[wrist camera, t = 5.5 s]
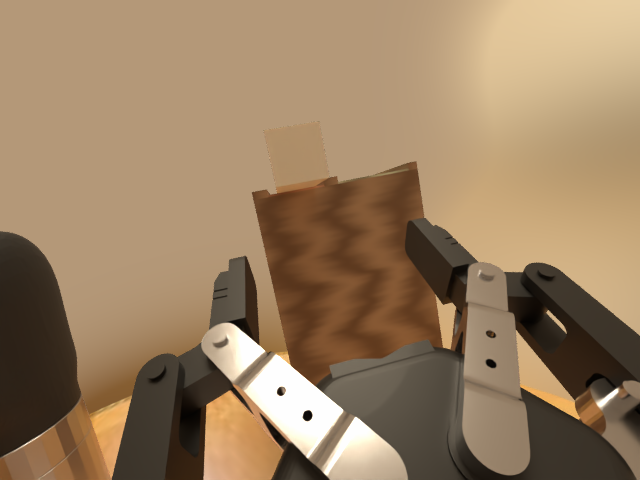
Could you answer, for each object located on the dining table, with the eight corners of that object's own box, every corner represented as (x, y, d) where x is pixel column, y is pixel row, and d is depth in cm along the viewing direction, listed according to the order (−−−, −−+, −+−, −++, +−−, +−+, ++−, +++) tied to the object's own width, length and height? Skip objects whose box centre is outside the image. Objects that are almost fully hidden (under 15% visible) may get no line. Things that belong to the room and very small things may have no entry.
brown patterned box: (314, 468, 33) (251, 192, 29) (305, 400, 45) (260, 196, 41) (453, 425, 35) (416, 161, 31) (410, 370, 47) (378, 174, 43)
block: (275, 187, 20) (263, 130, 20) (278, 198, 44) (272, 172, 43) (329, 177, 21) (319, 121, 20) (303, 193, 44) (298, 167, 44)
